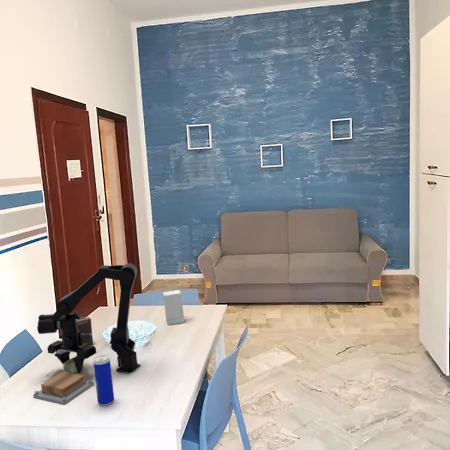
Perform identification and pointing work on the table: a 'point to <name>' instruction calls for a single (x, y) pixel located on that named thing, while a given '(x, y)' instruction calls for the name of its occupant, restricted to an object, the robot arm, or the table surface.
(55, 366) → the table surface
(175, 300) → the skincare box
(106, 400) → the beverage can
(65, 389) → the base brick
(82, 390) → the baseplate
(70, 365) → the block
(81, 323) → the box
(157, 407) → the table surface
